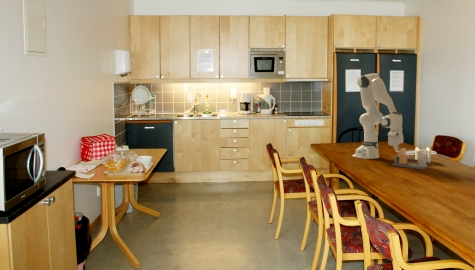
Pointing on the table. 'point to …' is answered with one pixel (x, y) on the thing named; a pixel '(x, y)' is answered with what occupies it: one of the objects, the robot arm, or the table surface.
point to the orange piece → (403, 156)
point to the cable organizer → (423, 154)
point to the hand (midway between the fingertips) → (396, 149)
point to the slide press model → (420, 162)
